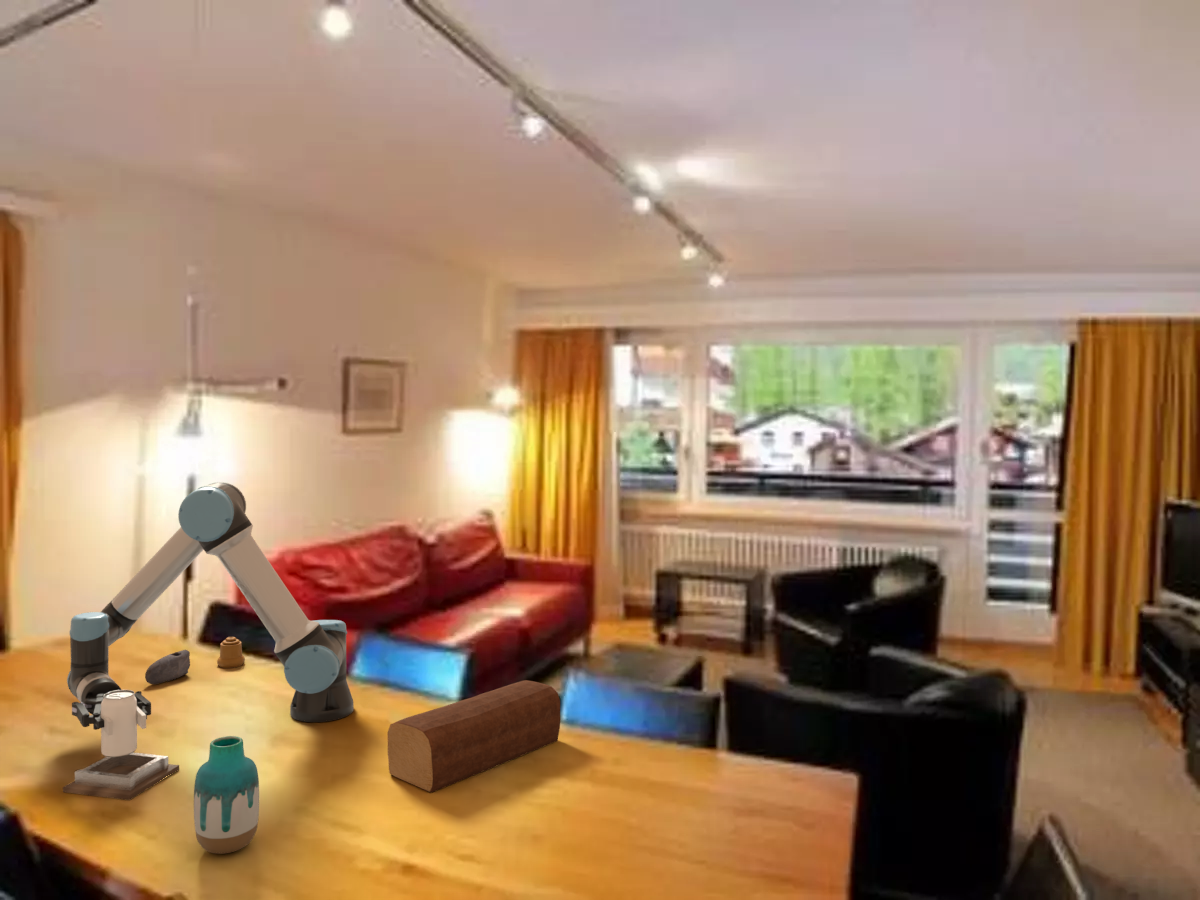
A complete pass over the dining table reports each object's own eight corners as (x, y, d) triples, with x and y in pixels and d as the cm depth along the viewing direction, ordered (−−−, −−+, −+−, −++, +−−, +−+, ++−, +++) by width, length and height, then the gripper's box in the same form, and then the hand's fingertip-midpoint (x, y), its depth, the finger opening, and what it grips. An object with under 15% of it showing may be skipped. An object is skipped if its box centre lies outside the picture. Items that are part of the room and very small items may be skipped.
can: (121, 759, 184) (120, 700, 184) (93, 756, 186) (93, 697, 185) (144, 747, 191) (144, 690, 190) (117, 744, 192) (117, 687, 191)
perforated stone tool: (152, 689, 246) (152, 663, 246) (138, 686, 248) (137, 661, 248) (197, 674, 260) (196, 649, 260) (183, 671, 262) (182, 647, 262)
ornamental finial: (248, 665, 269) (222, 670, 264) (239, 659, 275) (213, 664, 270) (248, 638, 269) (222, 642, 264) (239, 633, 274) (213, 637, 269)
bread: (562, 742, 214) (563, 685, 214) (432, 796, 185) (432, 731, 184) (515, 726, 224) (515, 672, 224) (384, 775, 194) (384, 712, 194)
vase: (206, 834, 167) (205, 730, 166) (266, 833, 168) (266, 729, 166) (184, 864, 156) (183, 753, 155) (249, 862, 157) (248, 752, 156)
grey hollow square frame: (168, 767, 193) (168, 756, 193) (130, 790, 182) (130, 778, 182) (115, 762, 196) (115, 750, 195) (74, 784, 184) (74, 771, 184)
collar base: (179, 769, 195) (179, 765, 195) (129, 800, 180) (129, 795, 180) (116, 762, 198) (116, 758, 198) (62, 792, 183) (62, 787, 183)
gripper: (145, 703, 208) (176, 733, 190) (51, 720, 196) (75, 754, 178) (145, 670, 207) (176, 697, 190) (51, 685, 196) (75, 716, 178)
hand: (127, 725), depth 184 cm, fingers closed on can, 5 cm apart
